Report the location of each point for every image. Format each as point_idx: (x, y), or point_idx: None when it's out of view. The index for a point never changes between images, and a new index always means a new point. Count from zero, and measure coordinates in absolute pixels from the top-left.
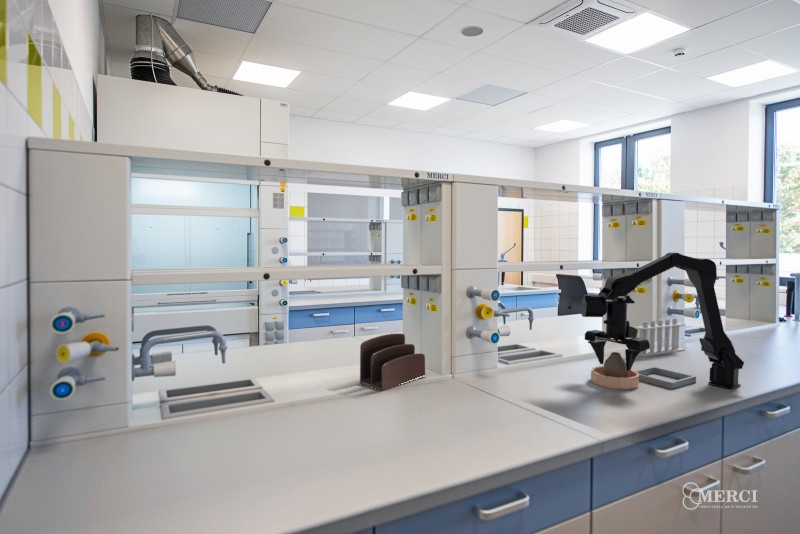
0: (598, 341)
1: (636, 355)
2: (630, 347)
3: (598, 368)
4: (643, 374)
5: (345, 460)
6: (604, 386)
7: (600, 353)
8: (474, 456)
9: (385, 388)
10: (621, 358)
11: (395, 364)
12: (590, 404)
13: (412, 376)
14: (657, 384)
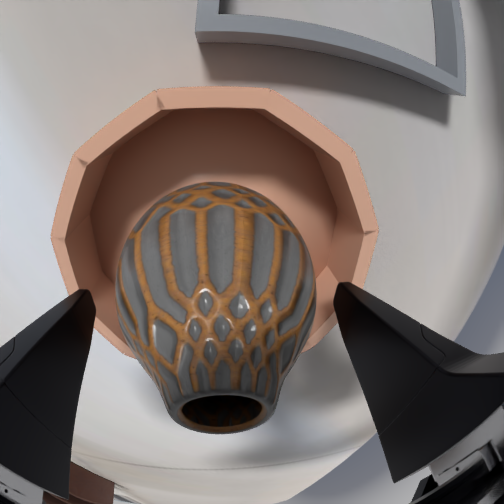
0: (16, 480)
1: (459, 357)
2: (437, 483)
3: (75, 264)
4: None
5: (246, 501)
6: None
7: (63, 384)
8: (294, 485)
9: (111, 483)
10: (292, 361)
11: (98, 499)
12: (302, 424)
13: (79, 472)
14: (389, 70)
